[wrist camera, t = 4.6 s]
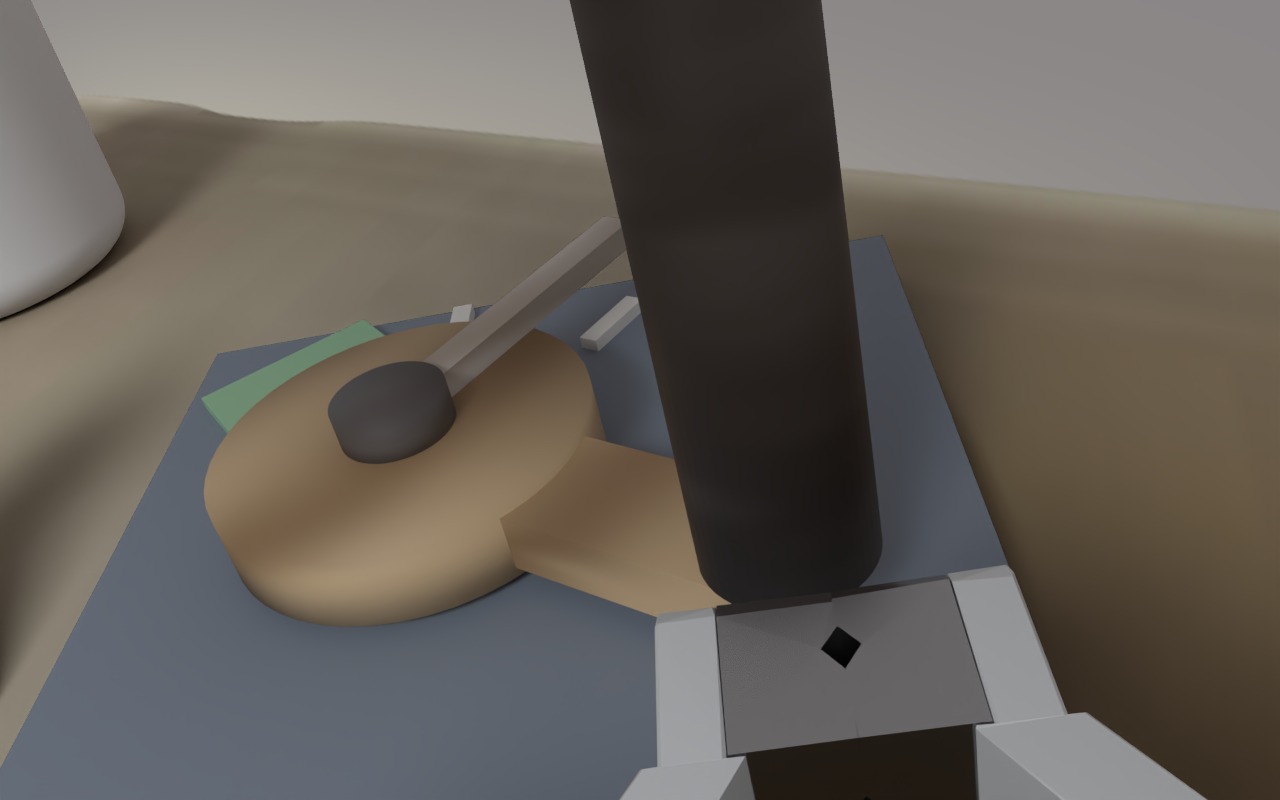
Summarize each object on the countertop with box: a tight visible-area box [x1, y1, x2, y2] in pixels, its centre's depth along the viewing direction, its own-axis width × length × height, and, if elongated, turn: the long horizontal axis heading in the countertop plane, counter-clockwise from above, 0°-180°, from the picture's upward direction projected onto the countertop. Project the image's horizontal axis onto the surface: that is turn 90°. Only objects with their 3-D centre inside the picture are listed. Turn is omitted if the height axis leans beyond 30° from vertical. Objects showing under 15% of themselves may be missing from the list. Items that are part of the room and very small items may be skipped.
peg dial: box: [204, 0, 883, 627], centre depth 21 cm, size 14×12×14 cm
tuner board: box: [0, 235, 1009, 800], centre depth 25 cm, size 18×18×2 cm
